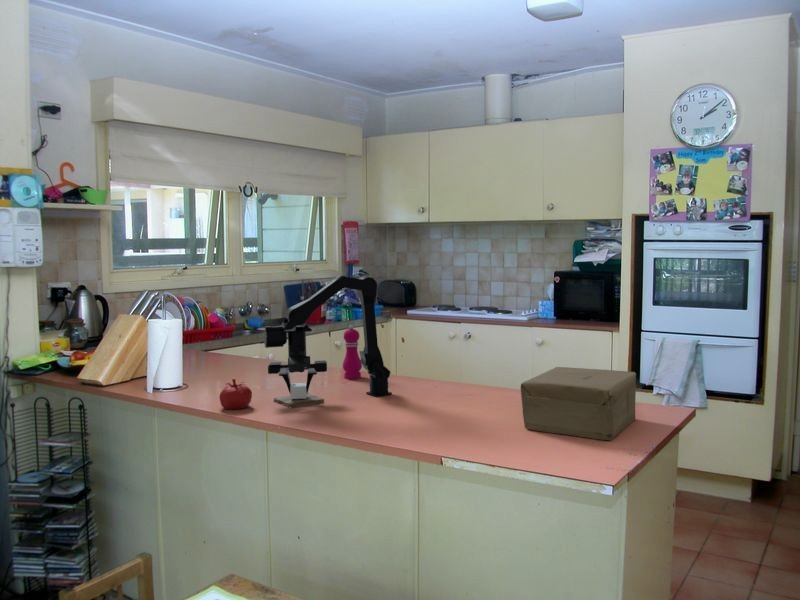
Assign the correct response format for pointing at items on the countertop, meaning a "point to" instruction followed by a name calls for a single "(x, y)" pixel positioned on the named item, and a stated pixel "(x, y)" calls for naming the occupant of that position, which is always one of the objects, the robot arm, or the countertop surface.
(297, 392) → the white cube
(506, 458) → the countertop surface
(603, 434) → the paper package
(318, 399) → the post stand
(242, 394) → the red tomato
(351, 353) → the pepper mill
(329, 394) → the countertop surface
